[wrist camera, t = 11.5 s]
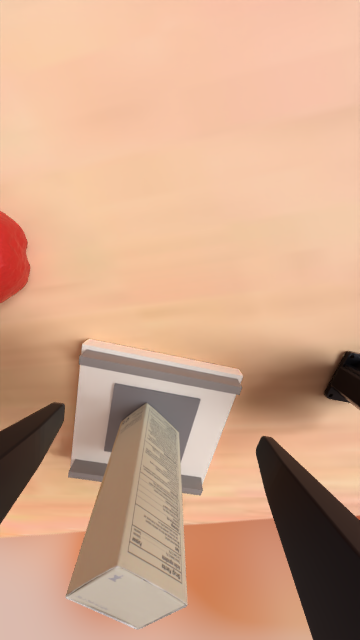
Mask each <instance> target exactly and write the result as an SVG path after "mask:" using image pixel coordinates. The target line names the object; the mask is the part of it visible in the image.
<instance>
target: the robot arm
mask: <svg viewBox="0 0 360 640" xmlns="http://www.w3.org/2000/svg"><path fill="white" fill-rule="evenodd" d="M324 395H325V396H326V397H327V398H329V399H333V400H338V401H343V402H348V403H351V404H353V405H354V406H355V407H357V408H358V409H359V410H360V353H355V352H350V351H349V352H347V353H346V354H345V356H344V358H343V359H342V361H341V363H340V365H339V367H338V369H337V371H336V373H335V374H334V376H333V378H332V380H331V382H330V384H329V386H328V388H327V389H326V391H325V394H324ZM64 410H65V405H64V404H63V403H57V402H54V403H51V404H50V405H48V406H46V407H44V408H42V409H40V410H39V411H37V412H35V413H33V414H31V415H29V416H28V417H26V418H24V419H22V420H20V421H18V422H17V423H15V424H13V425H11V426H9V427H7V428H6V429H4V430H2V431H0V524H1V522H2V521H3V519H4V518H5V516H6V515H7V513H8V512H9V510H10V509H11V507H12V506H13V504H14V503H15V501H16V500H17V498H18V497H19V495H20V494H21V492H22V491H23V489H24V488H25V486H26V485H27V483H28V482H29V480H30V479H31V477H32V476H33V474H34V473H35V471H36V470H37V468H38V467H39V465H40V463H41V462H42V460H43V458H44V456H45V455H46V453H47V451H48V449H49V447H50V446H51V444H52V442H53V440H54V438H55V436H56V435H57V433H58V431H59V429H60V427H61V426H62V423H63V421H64ZM256 456H257V460H258V464H259V468H260V472H261V477H262V481H263V485H264V489H265V493H266V496H267V499H268V503H269V506H270V509H271V512H272V515H273V518H274V521H275V524H276V527H277V530H278V533H279V536H280V540H281V543H282V545H283V549H284V552H285V555H286V558H287V561H288V564H289V567H290V570H291V573H292V576H293V580H294V583H295V586H296V589H297V592H298V595H299V598H300V601H301V604H302V607H303V610H304V613H305V616H306V619H307V622H308V625H309V628H310V632H311V635H312V638H313V640H360V520H358V519H357V518H356V517H355V516H354V515H353V514H352V513H351V512H350V511H349V510H348V509H347V508H346V507H345V506H344V505H343V504H342V503H341V502H340V501H338V500H337V499H336V498H335V497H334V496H333V495H332V494H331V493H330V492H329V491H328V490H327V489H326V488H325V487H324V486H323V485H322V484H321V483H319V482H318V481H317V480H316V479H315V478H314V477H313V476H312V475H311V474H310V473H309V472H308V471H307V470H306V469H305V468H304V467H303V466H301V465H300V464H299V463H298V462H297V461H296V460H295V459H294V458H293V457H292V456H291V455H290V454H289V453H288V452H287V451H286V450H285V449H283V448H282V447H281V446H280V445H279V444H278V443H277V442H276V441H275V440H274V439H273V438H271V437H267V436H262V437H261V439H260V441H259V443H258V446H257V448H256Z"/></svg>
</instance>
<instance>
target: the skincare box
mask: <svg viewBox="0 0 360 640" xmlns="http://www.w3.org/2000/svg"><path fill="white" fill-rule="evenodd" d="M184 549H185V546H184V525H183V504H182V484H181V463H180V443H179V432H178V431H177V430H176V429H175V428H174V427H173V426H172V425H171V424H170V423H169V422H168V421H167V420H166V419H165V418H163V417H162V416H161V415H160V414H159V413H158V412H157V411H156V410H155V409H154V408H152V407H151V406H150V405H149V404H148V403H145V404H144V405H143V406H141V407H140V408H139V409H137V410H136V411H134V412H133V413H132V414H130V415H129V416H128V417H126V418H125V419H124V420H123V421H121V424H120V427H119V430H118V433H117V436H116V439H115V442H114V445H113V449H112V452H111V455H110V458H109V461H108V464H107V467H106V470H105V474H104V477H103V480H102V483H101V486H100V489H99V492H98V495H97V499H96V502H95V505H94V508H93V511H92V514H91V518H90V521H89V524H88V527H87V530H86V534H85V537H84V540H83V543H82V546H81V549H80V552H79V556H78V559H77V562H76V565H75V568H74V571H73V575H72V578H71V581H70V584H69V587H68V590H67V594H66V599H69V600H72V601H74V602H76V603H78V604H81V605H83V606H85V607H87V608H90V609H92V610H94V611H96V612H98V613H101V614H103V615H105V616H108V617H110V618H112V619H115V620H116V621H119V622H122V623H124V624H126V625H128V626H130V627H132V628H134V629H140V628H143V627H145V626H147V625H149V624H151V623H153V622H155V621H157V620H159V619H162V618H163V617H165V616H168V615H170V614H172V613H174V612H176V611H178V610H180V609H182V608H185V607H186V606H187V586H186V567H185V550H184Z"/></svg>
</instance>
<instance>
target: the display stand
mask: <svg viewBox="0 0 360 640" xmlns="http://www.w3.org/2000/svg"><path fill="white" fill-rule="evenodd" d="M79 365H80V372H79V383H78V393H77V404H76V414H75V425H74V435H73V446H72V456H71V468H70V470H69V474H68V477H70V478H78V479H85V480H92V481H100V482H102V480H103V477H104V474H105V470H106V467H107V464H108V461H109V458H110V455H111V452H112V449H113V445H114V442H115V439H116V436H117V433H118V430H119V427H120V424H121V421H123V420H124V419H125V418H126V417H128V416H129V415H130V414H132V413H133V412H134V411H136V410H137V409H139V408H140V407H141V406H143V405H144V404H145V403H148V404H149V405H150V406H151V407H152V408H154V409H155V410H156V411H157V412H158V413H159V414H160V415H161V416H162V417H163V418H165V419H166V420H167V421H168V422H169V423H170V424H171V425H172V426H173V427H174V428H175V429H176V430H177V431H178V432H179V443H180V463H181V484H182V493H187V494H194V495H201V493H202V491H203V488H202V484H203V481H204V478H205V476H206V473H207V470H208V468H209V465H210V463H211V460H212V457H213V455H214V452H215V449H216V447H217V444H218V441H219V439H220V436H221V433H222V431H223V428H224V426H225V423H226V420H227V418H228V415H229V412H230V410H231V407H232V404H233V402H234V399H235V397H236V395H240V392H241V389H242V386H241V384H240V383H241V381H242V378H243V375H242V373H241V372H240V370H239V369H236V368H231V367H226V366H221V365H217V364H212V363H207V362H202V361H197V360H192V359H187V358H182V357H177V356H172V355H167V354H162V353H157V352H152V351H147V350H143V349H138V348H133V347H128V346H123V345H118V344H113V343H108V342H103V341H98V340H93V339H88V340H86V341H85V342H84V343H83V344H82V352H81V355H80V356H79Z"/></svg>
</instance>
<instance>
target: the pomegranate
mask: <svg viewBox="0 0 360 640" xmlns="http://www.w3.org/2000/svg"><path fill="white" fill-rule="evenodd" d="M27 243H28V242H27V239H26V237H25V234H24V232H23V230H22V229H21V227H20V226H19V225H18V224H17V223H16V222H15V221H14V220H12V219H11V218H10V217H8V216H7V215H6V214H5V213H3V212H1V211H0V303H2V302H3V301H5V300H6V299H8V298H9V297H11V296H13V295H14V294H16V293H17V292H18V291H19V290H21V289H22V288H23V287H24V286H25V285H26V283H27V282H28V277H29V272H30V265H29V262H28V260H27V256H26V248H27Z"/></svg>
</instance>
